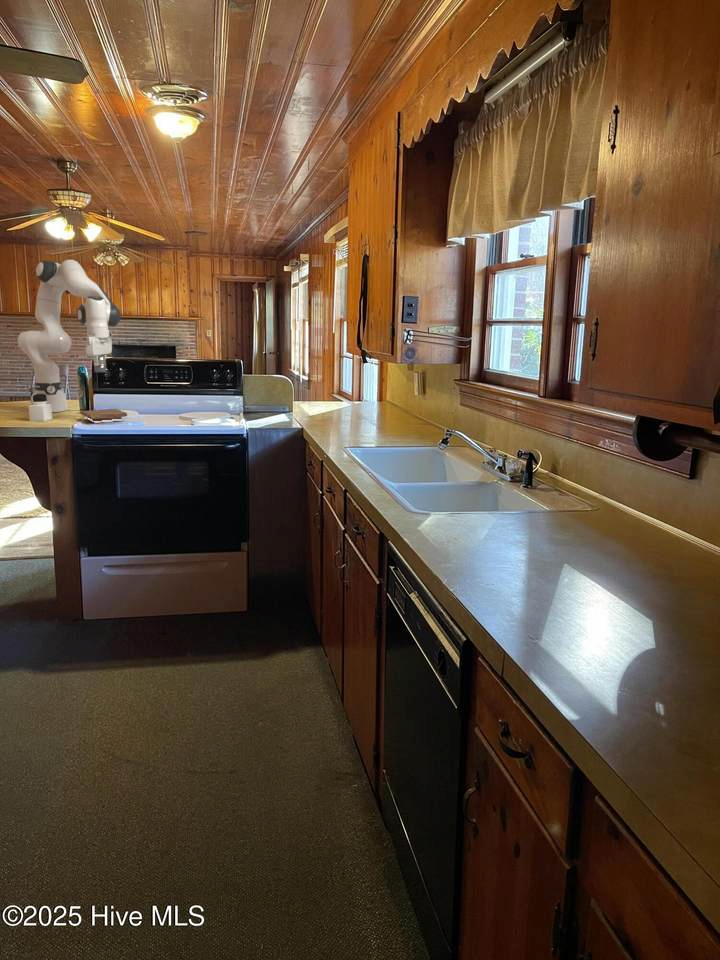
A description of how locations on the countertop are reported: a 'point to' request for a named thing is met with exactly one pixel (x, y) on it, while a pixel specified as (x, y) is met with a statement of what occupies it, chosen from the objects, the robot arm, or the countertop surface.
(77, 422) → the countertop surface
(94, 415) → the walnut stand
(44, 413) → the medicine bottle
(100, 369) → the grey metal cylinder
